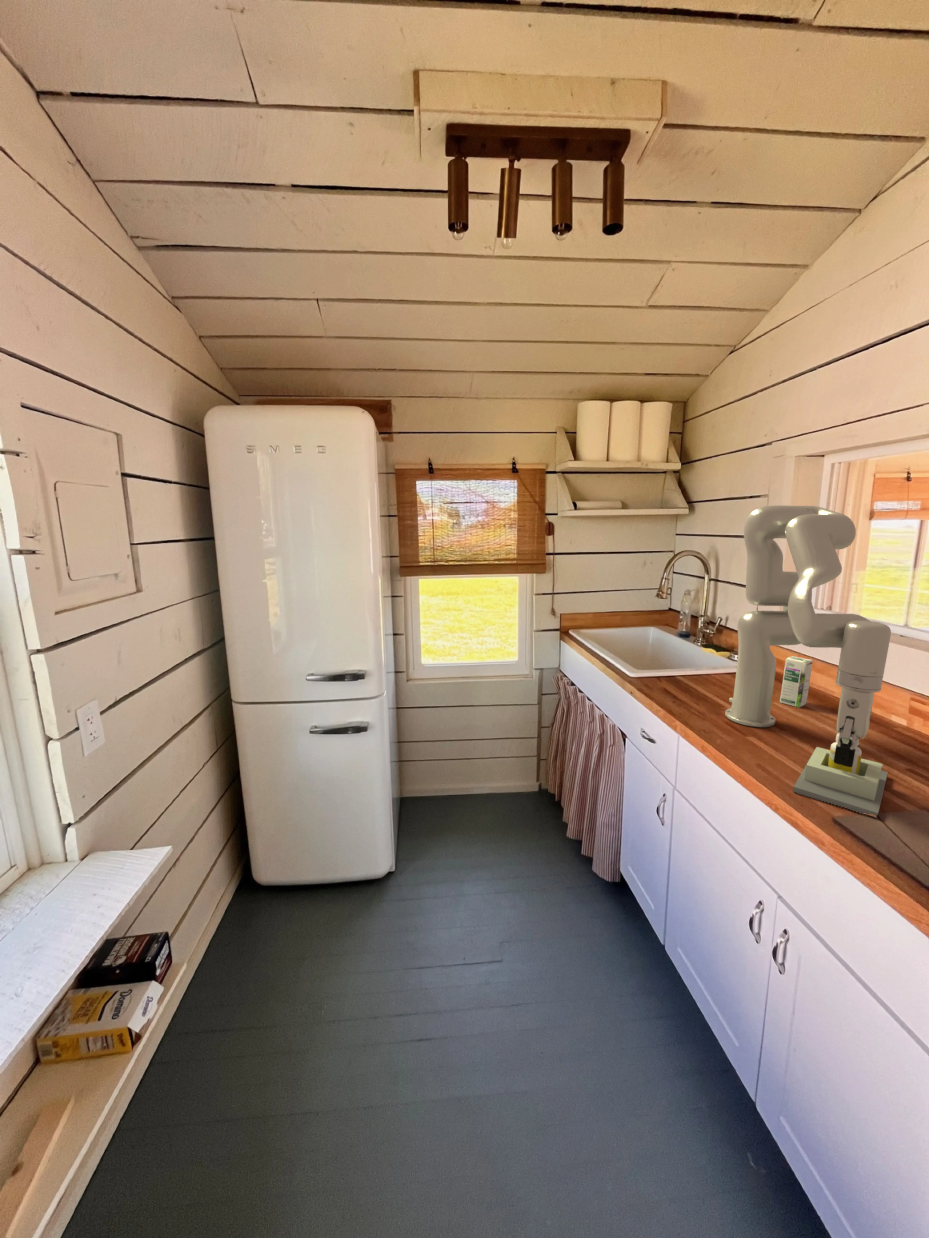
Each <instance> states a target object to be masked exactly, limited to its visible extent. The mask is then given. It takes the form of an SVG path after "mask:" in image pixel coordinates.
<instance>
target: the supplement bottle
mask: <svg viewBox="0 0 929 1238" xmlns="http://www.w3.org/2000/svg"><path fill="white" fill-rule="evenodd" d="M839 735H840V733H838V732H837V733H836V736H835V742H832V743H831V744H830V749H829V750H830V755H829V762H828V767H831V768H834V769H838V770H842V771H845V772H849V773H852V774H856V775H858V774H859V768H860V761H861V758H862V754H863V753H862V749H861V748H860V741H859V738H858V736H857V737H856V741H855V746H854V749H855V755H854V760H853V766H852V767H847V766H844V765H840V764H836V763H834V756H835V750H836V745H837V744H838V739H839ZM850 739H851V740H852V737H850ZM858 745H859V747H857V746H858Z"/></svg>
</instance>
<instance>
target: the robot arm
mask: <svg viewBox="0 0 929 1238" xmlns="http://www.w3.org/2000/svg"><path fill="white" fill-rule="evenodd" d="M856 531H857V530H856V527H855V523H854V521H853V520H852V519H851V518H850V517H849V516H847V515H845V514H844V513H841V512H837V511H835V510H830V509H828V508H824V507H821V506H816V505H780V504H779V505H766V506H765V505H764V506H760V507H758V508H755V509H754V510H752V511H751V512H750V513H749V514H748V516H747V518H746V519H745V521H744V526H743V538H744V545H745V548H746V554H747V555H746V558H747V559H746V577H745V579H746V580H745V597H746V600H747V602H748V603H749V604H751V605H754V606H759V607H762V606H763V607H782V610H753V611H748V612H746V613H744V614H742V615H741V616H740V617H739V619H738V621H737V639H738V652H737V660H736V662H737V663H736V671H735V672H736V673H735V681H734V687H733V697H729V699H728V701H729V702H730V703H731V707H729V708H727V709H725V711H724V712H725V713H724V714H725V717H726V718H727V719H729V720H730V721H732V722H734V723H736V724H740V725H743V726H746V727H747V726H748V727H752V728H753V727H754V728H769V727H772V726H774V725H776V718H775V716H773V715H771V709H772V699H773V692H774V685H775V680H776V679H775V678H776V671H777V660H776V656H775V655H774V653H773V651H772V650H771V647H770V646H796V645H797V646H798V645H803V646H805V647H809V648H817V649H818V648H826V649H827V648H835V649H836V648H837V649H839V648H840V655H839V662H838V667H837V673H836V680H835V684H836V686H839V687H841V689H840V690H841V691H840V696H839V697H840V698H839V703H838V704H839V705H838V710H837V717H836V718H837V719H836V727H835V730H836V732H837V734H838V733H840V735H839V739H838V744H837V745H836V750H835V756H834V763H836V764H840V765H844V766H847V767H852V766H853V760H854V755H855V749H854V746H855V741H856V737H858V738H859V742H860V739H865V738H866V736H867V734H868V731H869V728H870V723H871V716H872V711H873V705H874V704H873V703H874V697H875V696H874V695H875V693H879V692H881V690H882V685H883V679H884V673H885V668H886V663H887V659H888V658H887V657H888V654H889V653H888V652H889V647H890V641H891V636H892V635H891V634H892V630H891V628H890V626H889V625H888V624H885V623H883V622H878V621H873V620H872V621H871V620H870V619H868V618H866V617H864V616H862V615H860V614H857V613H856V614H855V613H826V612H825V613H816V612H815V608H814V605H813V602H812V601H813V599H812V598H813V589H814V588H817V587H819V586H822V585H825V584H827V583H829V582H831V581H833V580H835V579H836V578H838V577H839V576H841V574H842V571H843V566H842V563H841V562H840V559H839V555H838V553H837V551H836V550H843V549H847V548H848V547H849V546H852V544H853V542H854V540H855V539H856V535H857V534H856ZM774 539H786V542H787V545H788V548H789V551H790V555H791V558H792V562H793V565H794V567H795V570H796V571H784V570H783V569H784V566H783V565H784V564H783V563H784V554H783V551H782V549H781V547H780V545H779V544H778V543H777V542H776V541H775V540H774ZM850 737H852V740H851V739H850ZM857 747H859V748H860V744H859V745H858V746H857Z"/></svg>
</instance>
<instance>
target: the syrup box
mask: <svg viewBox="0 0 929 1238" xmlns="http://www.w3.org/2000/svg"><path fill="white" fill-rule="evenodd" d="M784 662H785V663H784V671H783V677H782V684H781V691H780V699H779V703H780V704H786V705H788V706H792V707H796V708H797V709H798V708H801V707H803V706H805V705H806V704H807V703H808V702H807V701H808V695H809V688H810V682H811V678H812V677H811V676H812V675H811V674H812V670H813V663H814V661H813V659H808V658H804V657H798V656H794V655H793V656H789V657H787V658H785V661H784Z"/></svg>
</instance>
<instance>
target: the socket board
mask: <svg viewBox="0 0 929 1238" xmlns="http://www.w3.org/2000/svg"><path fill="white" fill-rule="evenodd" d="M829 755H830V749H826V748H823V747H819V746H816V747H815V749H814V751H813V752H812V754H811V756H810V758H809V759H808V761H807V763H806V765H805V766H804V768H803V770H802V772H801V773H800V775H799V777H798V779H797V781H796V782H795V783H794V785H793V789H792V792H793V793H795V792H796V793H795V794H798V795H801V796H805V797H808V798H810V797H811V799H814V798H815V800H817V799H818V800H817V801H820V800H821V802H823V801H824V802H823V803H826V802H827V803H826V804H829V803H831V804H830V805H832V804H834V805H833V806H836V805H838V806H837V807H839V806H841V807H840V808H842V807H845V808H848V809H850V810H849V811H851V810H853V811H852V812H854V811H856V812H855V813H858V812H859V813H858V814H861V813H866V814H873V815H878V816H879V813H880V812H879V811H880V807H881V803H882V799H883V795H884V791H885V787H886V783H887V779H888V778H887V776H888V774H889V772H888V771H886V770H882V769H883V765H884V764H883V763H880V762H877V761H873V760H869V759H866V758H862V757H861V761H860V768H859V774H858V775H856V774H852V773H849V772H845V771H842V770H838V769H834V768H831V767H828V762H829ZM845 808H844V809H845ZM848 809H847V810H848Z"/></svg>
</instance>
